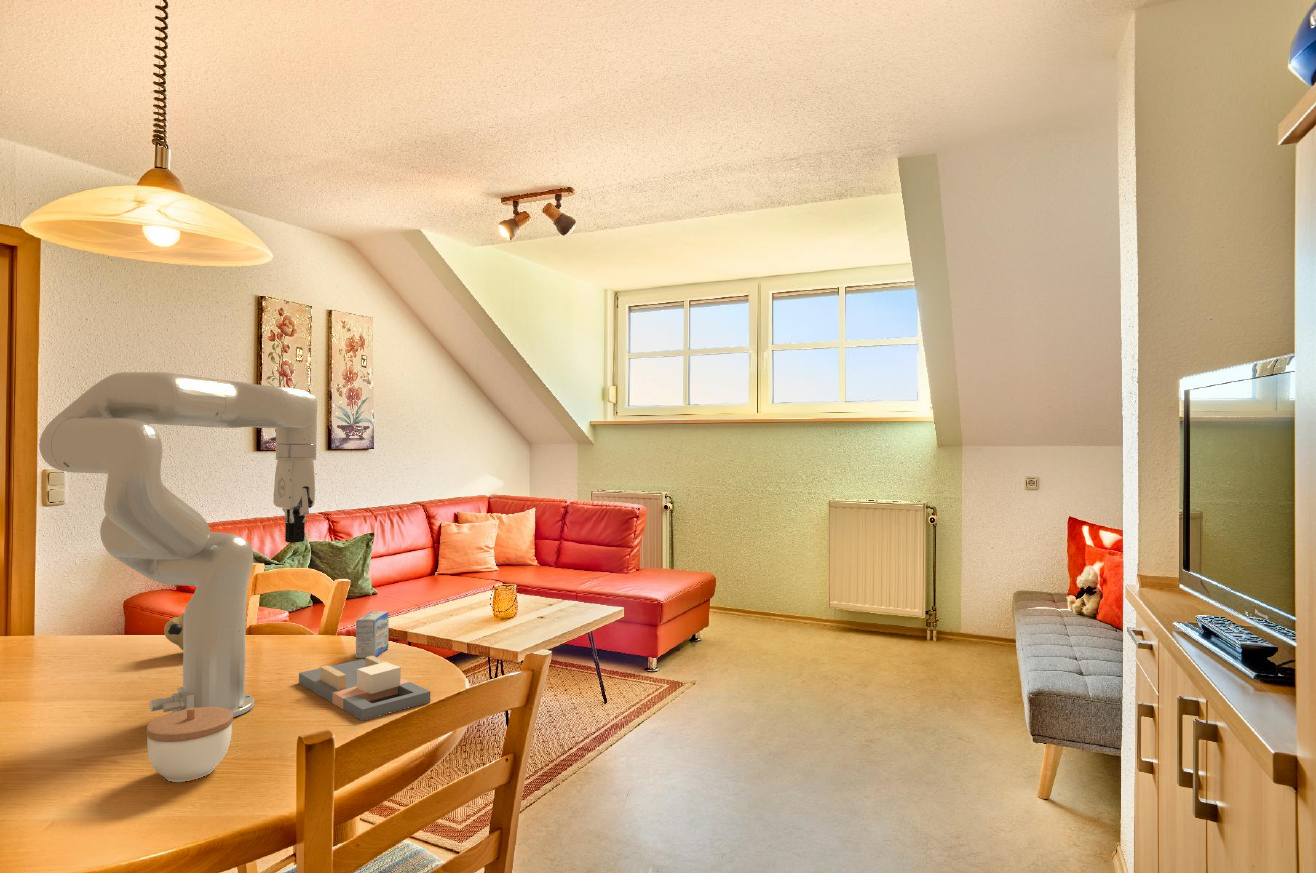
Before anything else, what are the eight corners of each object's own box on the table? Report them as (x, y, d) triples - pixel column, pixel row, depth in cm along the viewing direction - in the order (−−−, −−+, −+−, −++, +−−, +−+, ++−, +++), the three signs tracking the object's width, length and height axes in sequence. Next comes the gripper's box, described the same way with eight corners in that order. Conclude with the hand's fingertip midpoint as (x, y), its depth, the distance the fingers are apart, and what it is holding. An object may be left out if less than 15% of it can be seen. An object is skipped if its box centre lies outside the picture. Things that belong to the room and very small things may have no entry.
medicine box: (375, 659, 164) (375, 619, 164) (355, 658, 164) (355, 619, 164) (388, 648, 172) (389, 611, 172) (369, 648, 172) (370, 610, 172)
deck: (362, 720, 129) (362, 694, 129) (298, 682, 148) (299, 660, 148) (430, 702, 139) (430, 677, 139) (362, 668, 157) (362, 647, 157)
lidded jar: (138, 771, 109) (139, 707, 109) (220, 750, 116) (221, 690, 116) (154, 798, 101) (155, 728, 101) (241, 773, 109) (242, 709, 109)
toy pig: (163, 652, 166) (164, 604, 166) (225, 644, 173) (226, 598, 173) (163, 664, 158) (164, 613, 158) (229, 655, 165) (229, 607, 165)
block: (371, 693, 137) (371, 674, 137) (356, 687, 140) (356, 669, 140) (400, 685, 141) (400, 667, 141) (385, 679, 144) (385, 661, 144)
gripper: (263, 452, 156) (262, 539, 156) (291, 454, 146) (290, 547, 146) (300, 451, 161) (299, 536, 162) (330, 453, 151) (328, 544, 151)
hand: (294, 541), depth 154 cm, fingers closed
